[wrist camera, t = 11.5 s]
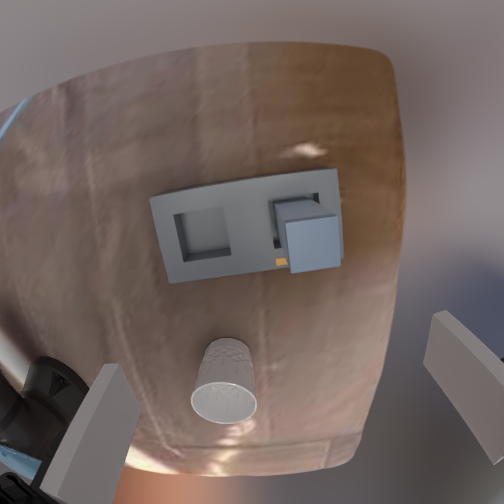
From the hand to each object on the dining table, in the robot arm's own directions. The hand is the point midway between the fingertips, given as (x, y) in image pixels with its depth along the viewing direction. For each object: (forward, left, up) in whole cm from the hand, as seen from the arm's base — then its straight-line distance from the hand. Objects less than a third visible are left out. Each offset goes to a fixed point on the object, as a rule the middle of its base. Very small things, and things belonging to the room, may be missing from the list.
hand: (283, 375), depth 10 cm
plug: (+4, +1, -24) cm, 25 cm away
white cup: (-7, -18, -25) cm, 32 cm away
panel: (-1, +1, -25) cm, 25 cm away
